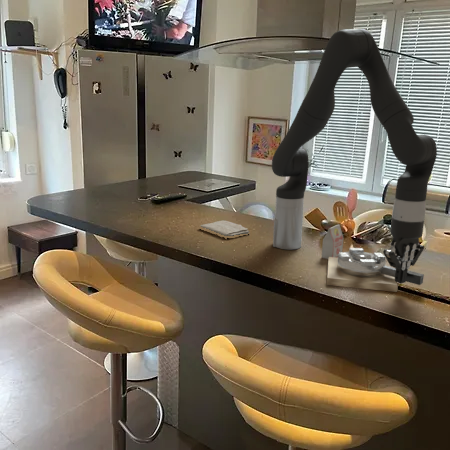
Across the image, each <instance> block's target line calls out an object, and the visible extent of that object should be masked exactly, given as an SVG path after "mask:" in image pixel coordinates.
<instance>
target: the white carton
mask: <svg viewBox="0 0 450 450" xmlns="http://www.w3.org/2000/svg"><path fill="white" fill-rule="evenodd" d="M321 248H322V249H321V258H322V259H326V260H329V257H336V258H338V255H339V253H343V249H344V235H343V232H342V229H341V224H336V225H334V226H332V227H329V228H328V230H327V232H326V234H325V236H324V237H323V239H322V246H321Z"/></svg>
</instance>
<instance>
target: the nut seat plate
mask: <svg viewBox="0 0 450 450" xmlns="http://www.w3.org/2000/svg"><path fill="white" fill-rule="evenodd" d="M327 260H328V261H327V277H326V285H327V286H337V287H342V288H343V287H345V288H353V289H354V288H355V289H365V290H374V291H375V290H376V291H386V292H396V293H397V292H398V287H399V283H398V282H396V281H395V277H392V276H388V275H385V274H383V275H381V276H377V277H358V276H353V275H349V274H346V273H343V272H341V271H340V270H339V269H338V268H337V261H338V257H337V258H336V257H329V259H327ZM385 266H389V267H392V266H390V264H389V263H388V261H386V265H385ZM392 268H393V267H392Z"/></svg>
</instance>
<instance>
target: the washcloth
mask: <svg viewBox="0 0 450 450" xmlns="http://www.w3.org/2000/svg"><path fill="white" fill-rule="evenodd" d="M199 226H201V227H203V228H206V229H209V230H211V231H214V232H216V233H219V234H221V235H224V236H234V235H240V234H248V233H250V231H249V228H247V227H244V226H242V224H238V223H235V222H232V221H228V220H218V221H214V222H211V223H210V222H209V223H204V224H200V225H199Z"/></svg>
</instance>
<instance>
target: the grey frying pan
mask: <svg viewBox="0 0 450 450" xmlns="http://www.w3.org/2000/svg"><path fill="white" fill-rule="evenodd" d="M348 249H349V251H344V252H342V253H339V255H338V257H337V258H338V261H337V268H338V269H339V270H340V271H341V272H343V273H346V274H349V275H353V276H358V277H377V276H381V275H383V274H385V275H388V276H392V277H395V271H396V268H394V267H389V266H385V265H386V262H387V261H386V260H387V259H386V257H385V255H384V253H383V252H373V253H372V252H366V251H365V250H364V248H362V247H349V248H348ZM424 276H425V275H424V274H423V273H421V272H420V273H419V272H415V271H412V270H409V269H408V271H407V279H406V282H407V283H411V284H414V285H418V286H421V285H422V284H423V283H424V278H425V277H424ZM406 282H405V283H406Z"/></svg>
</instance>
